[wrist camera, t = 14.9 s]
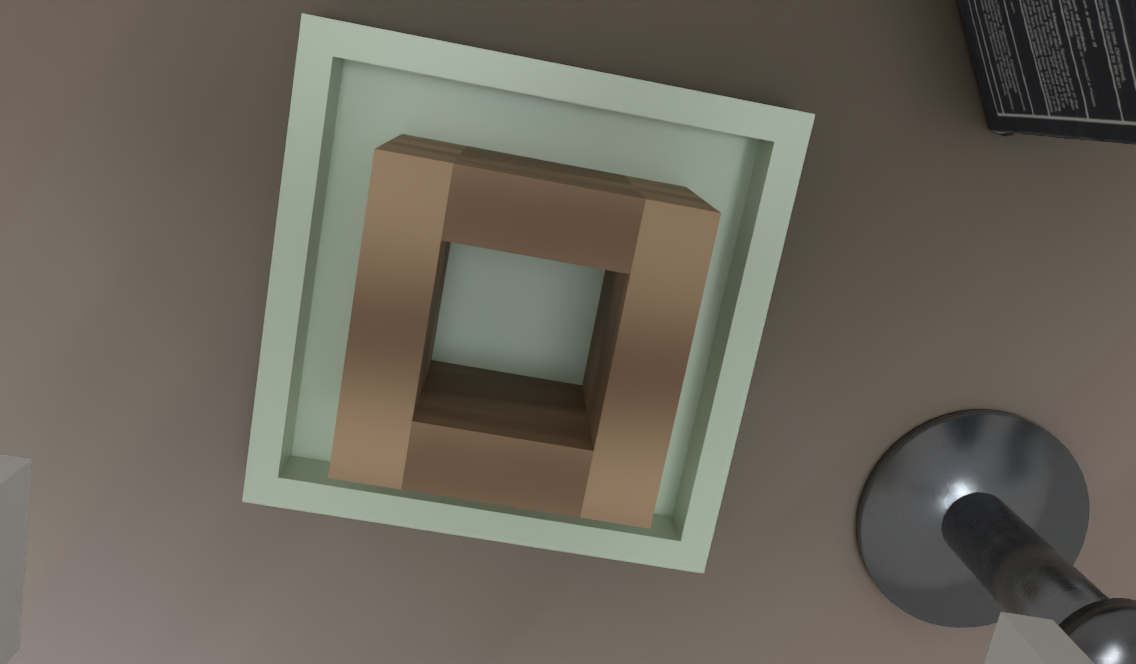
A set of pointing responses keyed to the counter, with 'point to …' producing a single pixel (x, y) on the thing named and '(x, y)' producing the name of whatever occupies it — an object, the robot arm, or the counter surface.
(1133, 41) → the small box
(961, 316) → the counter surface
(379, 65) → the tray
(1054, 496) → the dark grey knobbed stand
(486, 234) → the collar
